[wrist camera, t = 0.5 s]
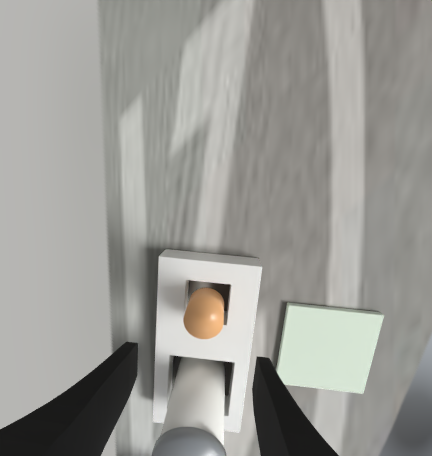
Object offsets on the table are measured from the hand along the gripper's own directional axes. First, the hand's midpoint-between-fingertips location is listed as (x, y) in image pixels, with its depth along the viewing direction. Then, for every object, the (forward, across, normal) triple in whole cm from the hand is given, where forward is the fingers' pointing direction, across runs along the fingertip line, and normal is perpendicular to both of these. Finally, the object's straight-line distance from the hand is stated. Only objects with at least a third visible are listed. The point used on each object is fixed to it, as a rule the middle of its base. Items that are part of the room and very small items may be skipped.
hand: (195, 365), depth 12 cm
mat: (+8, -11, +4) cm, 14 cm away
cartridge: (+8, 0, +8) cm, 12 cm away
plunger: (+6, 0, 0) cm, 6 cm away
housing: (+8, 0, +4) cm, 10 cm away
